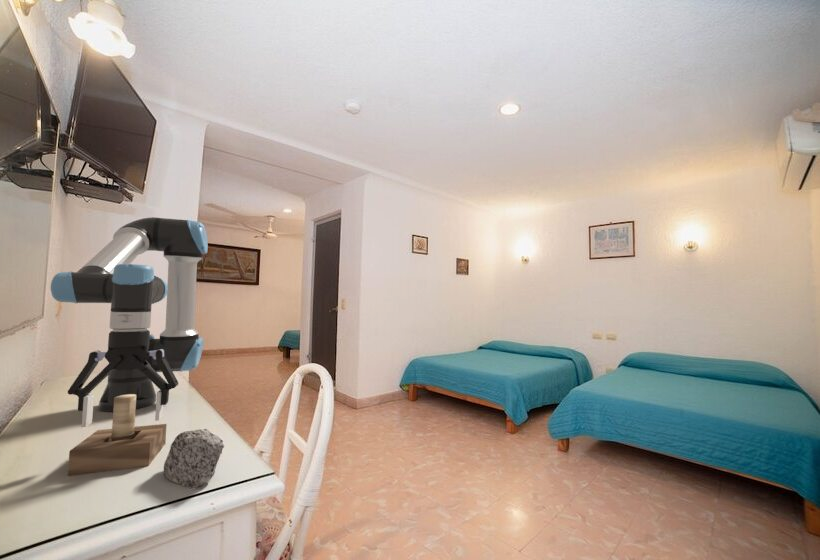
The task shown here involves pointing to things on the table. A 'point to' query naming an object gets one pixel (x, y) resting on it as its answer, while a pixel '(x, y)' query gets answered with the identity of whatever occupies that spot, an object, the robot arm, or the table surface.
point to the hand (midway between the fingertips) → (123, 421)
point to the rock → (193, 458)
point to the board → (117, 450)
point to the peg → (123, 417)
